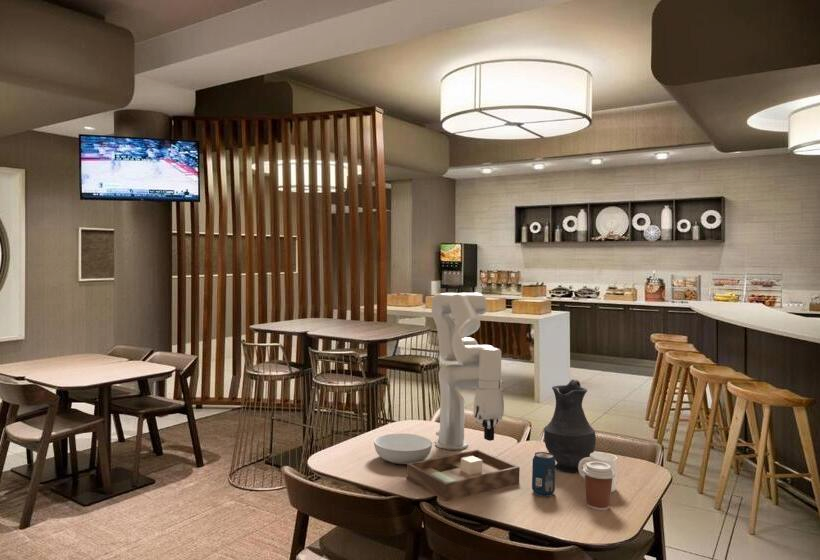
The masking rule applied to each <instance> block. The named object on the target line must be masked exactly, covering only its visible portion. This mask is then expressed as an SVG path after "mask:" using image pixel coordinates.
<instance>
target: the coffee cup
mask: <svg viewBox="0 0 820 560" xmlns="http://www.w3.org/2000/svg"><path fill="white" fill-rule="evenodd" d="M583 473H584V474H585V479H584V480H585V481H584V482H585V485H584V486H585V499H586V500H585V501H586V507H589V508H590V509H592V510H596V511H607V510H609V509H610V503H611V495H612V494H611V493H612V492H611V487H612V478H614V477H615V472H614V471H613V470H612V467H611V466H610V465H609V464H606V463H603V462H595V461H594V462H586V465H585V466H583Z"/></svg>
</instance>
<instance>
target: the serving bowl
mask: <svg viewBox="0 0 820 560" xmlns="http://www.w3.org/2000/svg"><path fill="white" fill-rule="evenodd" d="M373 446H374V450H375V452H376V454H377V455H378V456H379V457H380V458H381V459H382V460H384V461H386V462H390V463H393V464H397V465H407V464H408V463H413V462H418V461H423V460H426V458H427V457H428V456H429V455H430V454H431V450H432V447H433V442H432V440H430V438H427V437H425V436H422V435H419V434H413V433H404V432H403V433H400V432H399V433H397V432H396V433H387V434H383V435H379V436H377V437H375V439H374V440H373Z"/></svg>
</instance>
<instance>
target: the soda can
mask: <svg viewBox="0 0 820 560" xmlns="http://www.w3.org/2000/svg"><path fill="white" fill-rule="evenodd" d="M555 465H556V460H555V459H554V455H553V454H551V453H549V452H548V451H547V452H546V451H538V452H535V453H534V456H533V458H532V465H531V466H532V470H531V473H532V474H531V489H532V492H533V493H534V494H535V496H539V497H543V498H544V497H545V498H546V497H547V498H548V497H551V496H553V494H554V493H555V491H556V468H555Z"/></svg>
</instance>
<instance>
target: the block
mask: <svg viewBox="0 0 820 560" xmlns="http://www.w3.org/2000/svg"><path fill="white" fill-rule="evenodd" d="M461 471H463V472H465V473H468V474H470V475H472V474H476V473H481V472H482V460H481V459H479V458H477V457H474V456H469V457H464V458H461Z"/></svg>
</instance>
